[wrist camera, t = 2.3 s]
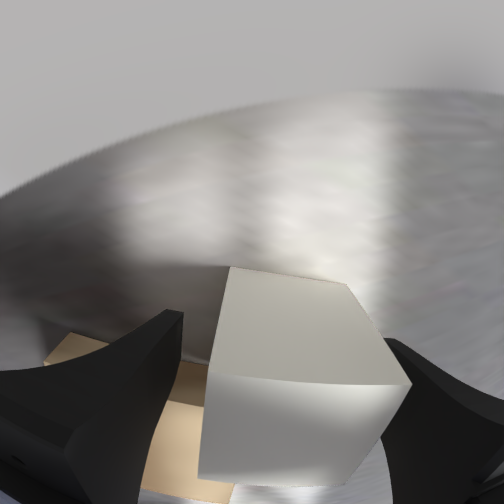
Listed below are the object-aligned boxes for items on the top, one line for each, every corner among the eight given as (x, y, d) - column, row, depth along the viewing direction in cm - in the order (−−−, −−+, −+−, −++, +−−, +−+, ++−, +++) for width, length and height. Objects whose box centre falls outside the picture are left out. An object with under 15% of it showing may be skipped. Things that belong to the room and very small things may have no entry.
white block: (346, 283, 11) (412, 384, 6) (316, 373, 13) (344, 484, 7) (230, 266, 11) (207, 370, 5) (216, 362, 12) (196, 478, 7)
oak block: (255, 367, 13) (255, 414, 10) (230, 467, 16) (228, 504, 13) (74, 327, 13) (43, 361, 10) (97, 436, 15) (82, 468, 12)
